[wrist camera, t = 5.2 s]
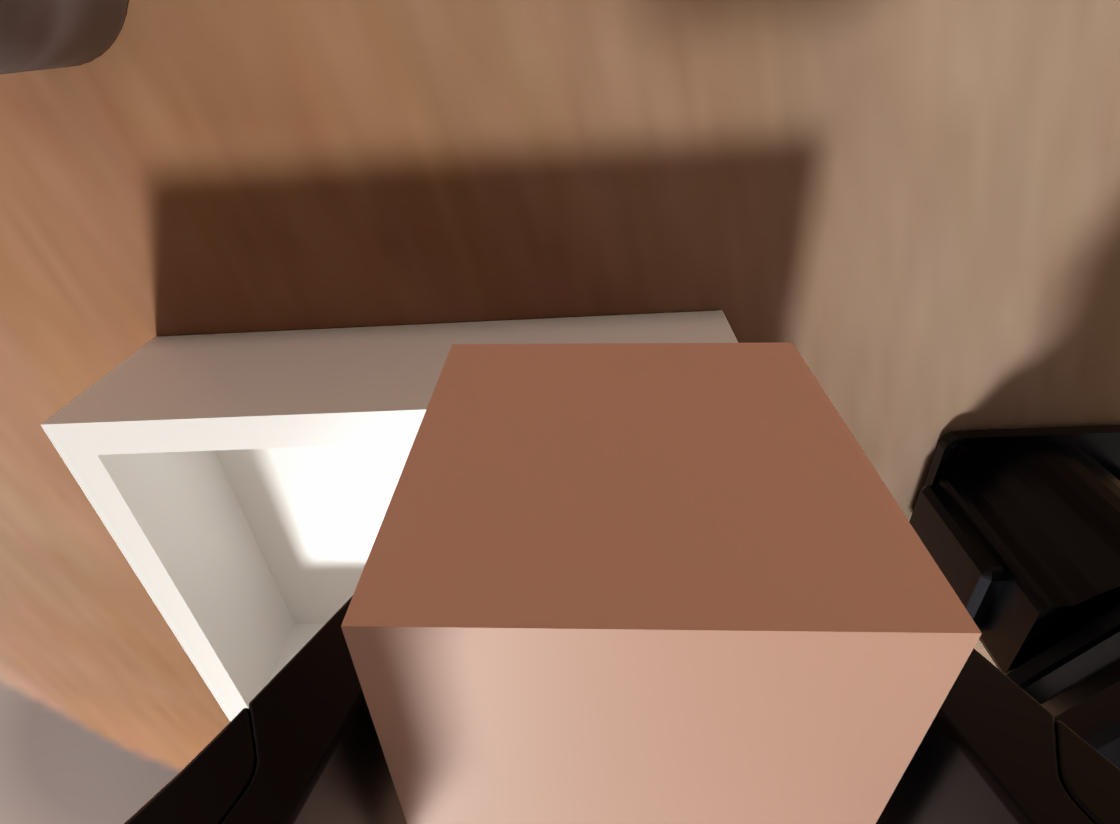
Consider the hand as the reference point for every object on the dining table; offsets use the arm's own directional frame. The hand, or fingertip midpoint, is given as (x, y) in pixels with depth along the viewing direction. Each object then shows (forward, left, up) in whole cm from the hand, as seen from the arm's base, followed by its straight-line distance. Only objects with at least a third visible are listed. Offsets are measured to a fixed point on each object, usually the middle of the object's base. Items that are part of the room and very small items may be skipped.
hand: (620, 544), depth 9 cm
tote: (+5, +8, -11) cm, 15 cm away
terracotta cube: (0, 0, -2) cm, 2 cm away
